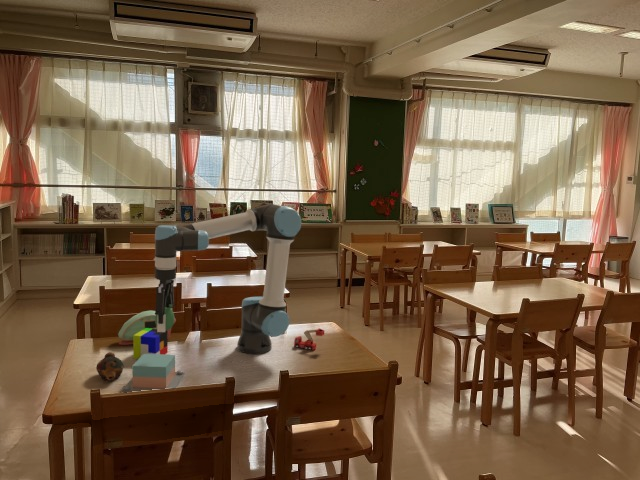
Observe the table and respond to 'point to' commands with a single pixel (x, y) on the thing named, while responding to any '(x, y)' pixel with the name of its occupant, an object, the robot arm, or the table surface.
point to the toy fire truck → (309, 342)
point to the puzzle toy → (149, 342)
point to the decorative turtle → (110, 367)
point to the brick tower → (154, 373)
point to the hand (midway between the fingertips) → (164, 328)
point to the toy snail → (138, 326)
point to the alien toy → (168, 318)
